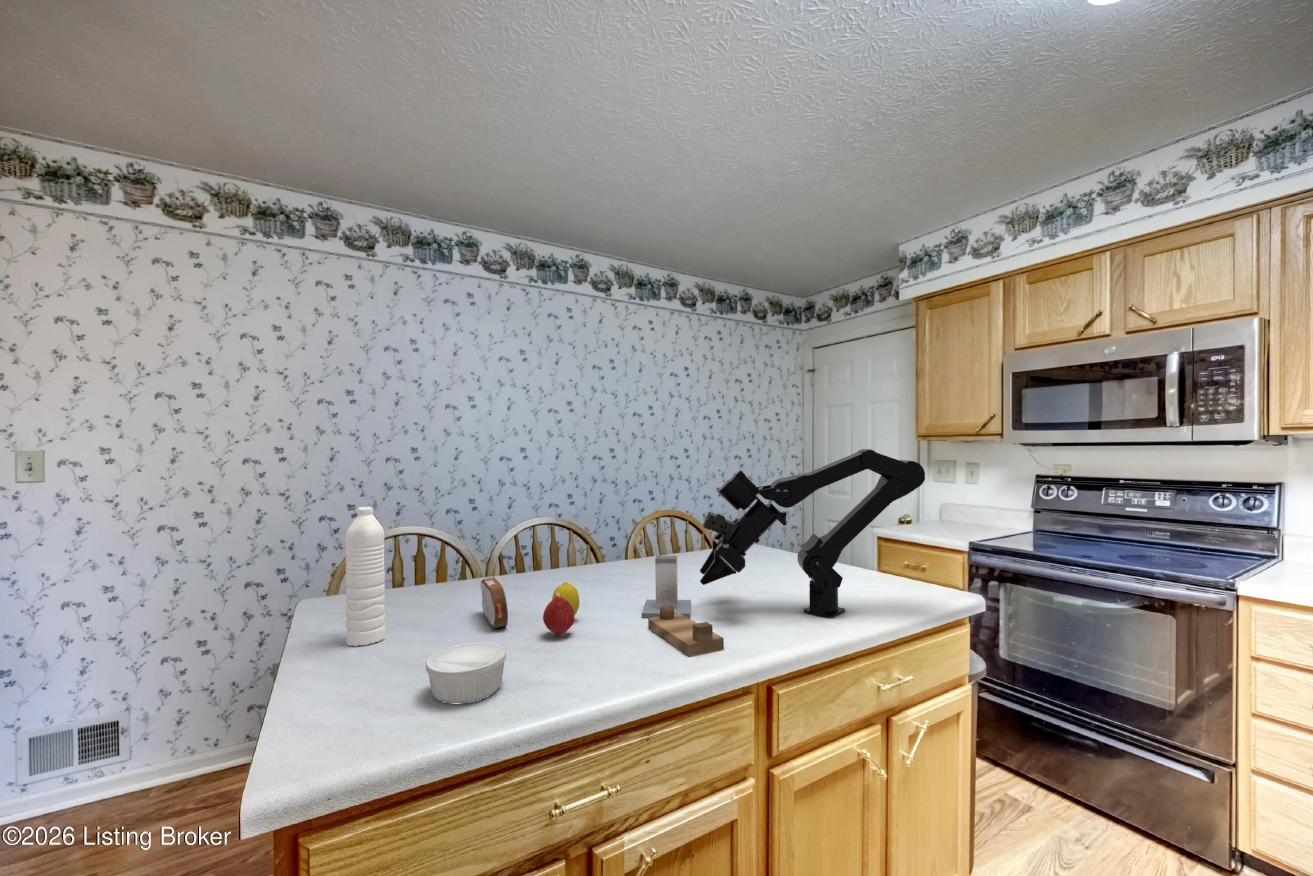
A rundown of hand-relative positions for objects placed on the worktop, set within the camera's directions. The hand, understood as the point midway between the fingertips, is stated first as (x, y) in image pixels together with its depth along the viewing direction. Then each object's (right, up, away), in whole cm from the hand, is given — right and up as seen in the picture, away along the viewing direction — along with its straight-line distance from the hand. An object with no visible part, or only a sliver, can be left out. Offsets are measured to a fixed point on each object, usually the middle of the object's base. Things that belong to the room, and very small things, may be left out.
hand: (701, 577), depth 119 cm
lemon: (-28, -8, -6) cm, 30 cm away
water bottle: (-63, -8, -16) cm, 66 cm away
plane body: (-5, -7, -17) cm, 19 cm away
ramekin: (-38, -8, -37) cm, 53 cm away
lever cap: (-7, -6, 0) cm, 10 cm away
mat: (-7, -7, 0) cm, 10 cm away
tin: (-43, -8, -5) cm, 44 cm away
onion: (-28, -8, -14) cm, 32 cm away
